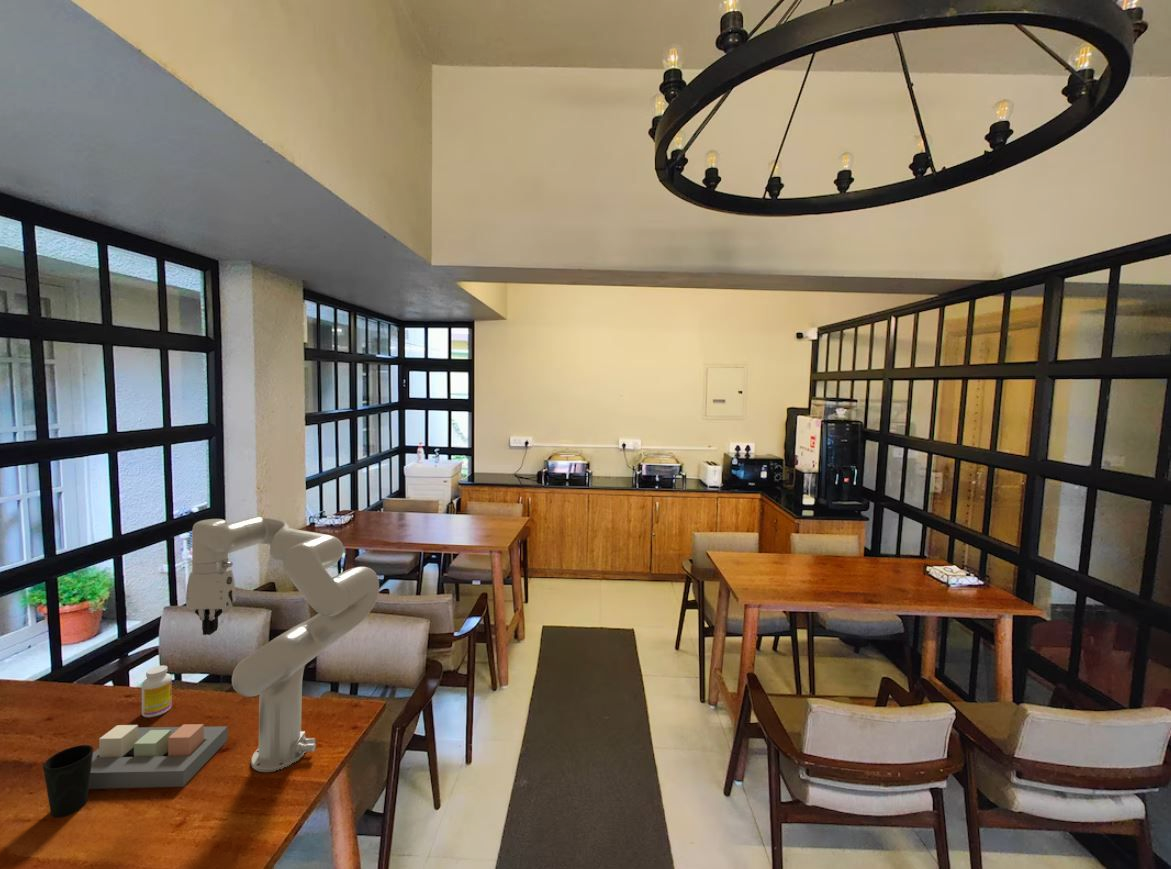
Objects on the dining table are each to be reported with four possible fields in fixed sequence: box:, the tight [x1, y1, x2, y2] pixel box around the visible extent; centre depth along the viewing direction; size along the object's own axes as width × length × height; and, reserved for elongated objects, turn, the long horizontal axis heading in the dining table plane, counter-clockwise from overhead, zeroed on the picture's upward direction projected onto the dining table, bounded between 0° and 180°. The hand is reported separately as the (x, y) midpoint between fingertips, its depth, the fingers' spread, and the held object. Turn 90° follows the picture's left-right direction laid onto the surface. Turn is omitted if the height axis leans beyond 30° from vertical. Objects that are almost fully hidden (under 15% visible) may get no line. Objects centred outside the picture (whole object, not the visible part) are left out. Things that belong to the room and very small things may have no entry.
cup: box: [42, 744, 94, 819], centre depth 107 cm, size 8×8×12 cm
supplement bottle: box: [141, 665, 173, 718], centre depth 140 cm, size 7×7×13 cm
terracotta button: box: [167, 723, 205, 756], centre depth 121 cm, size 5×5×5 cm
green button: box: [133, 730, 171, 757], centre depth 121 cm, size 5×5×5 cm
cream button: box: [98, 724, 139, 757], centre depth 120 cm, size 5×5×5 cm
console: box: [88, 725, 229, 790], centre depth 121 cm, size 26×16×4 cm, turn 95°
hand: (210, 632), depth 127 cm, fingers closed
